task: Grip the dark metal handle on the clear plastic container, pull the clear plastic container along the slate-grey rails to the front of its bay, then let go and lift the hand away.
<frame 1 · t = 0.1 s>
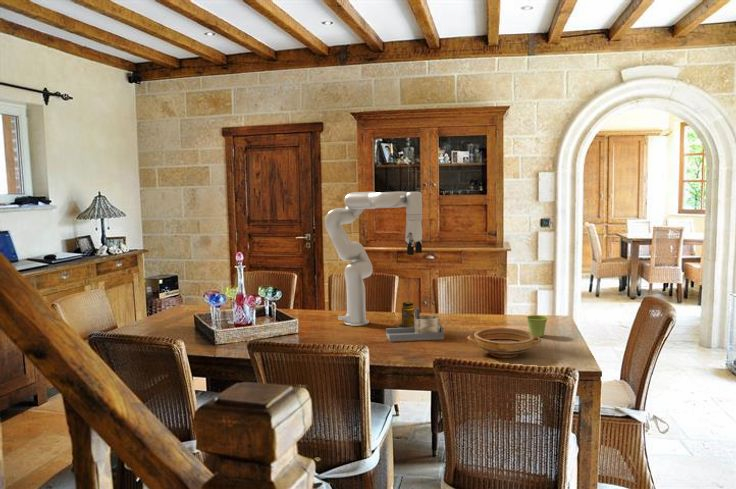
hand: (414, 253, 276), 37 cm above the table, tool pointing down, fingers open, 9 cm apart
bay: (414, 336, 267), on the table
condiment: (406, 327, 287), on the table
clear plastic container: (426, 320, 267), point 7 cm above the table, slide at 0.0 cm
ceramic bowl: (503, 354, 238), on the table
plant pot: (536, 336, 265), on the table
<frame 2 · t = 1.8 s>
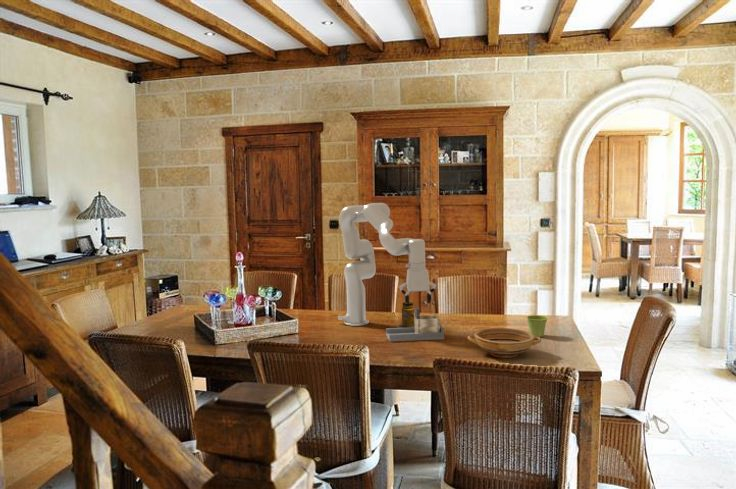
hand: (418, 303, 265), 16 cm above the table, tool pointing down, fingers open, 9 cm apart
nothing on the table moved.
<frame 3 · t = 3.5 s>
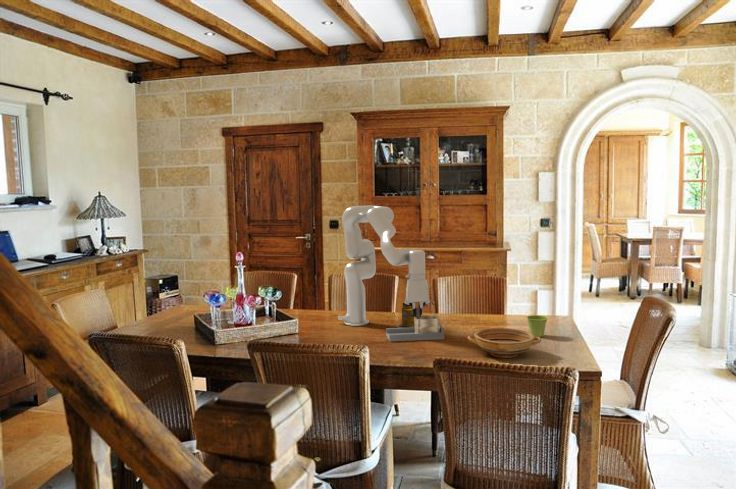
hand: (417, 316, 266), 10 cm above the table, tool pointing down, fingers closed
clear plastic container: (426, 320, 267), point 7 cm above the table, slide at 0.0 cm, touching gripper
everything else where it was.
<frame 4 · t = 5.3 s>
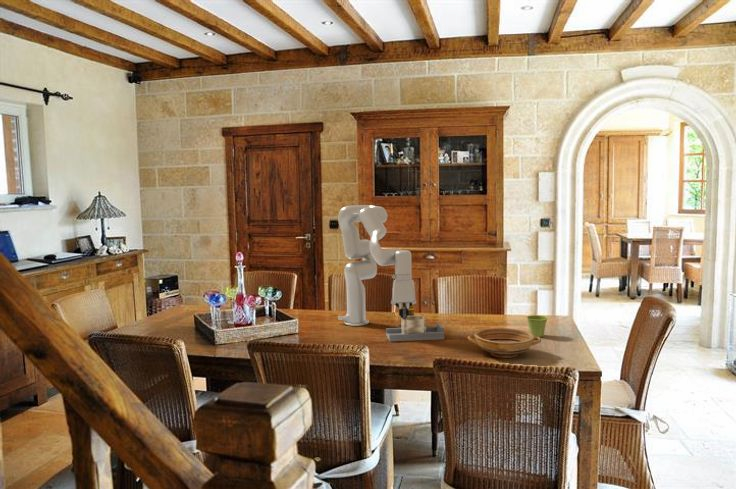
hand: (403, 316, 266), 10 cm above the table, tool pointing down, fingers closed
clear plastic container: (413, 321, 266), point 7 cm above the table, slide at 6.3 cm, touching gripper
everything else where it was.
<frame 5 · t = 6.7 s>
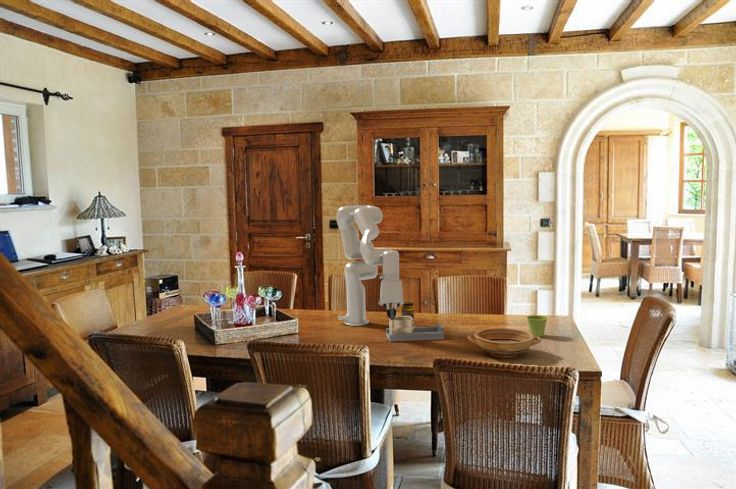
hand: (391, 317, 265), 10 cm above the table, tool pointing down, fingers closed
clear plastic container: (401, 321, 266), point 7 cm above the table, slide at 12.0 cm, touching gripper
everything else where it was.
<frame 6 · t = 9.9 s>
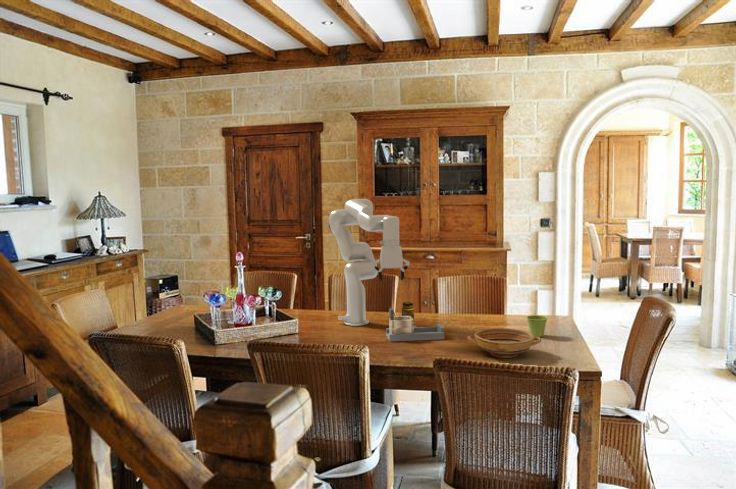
hand: (391, 280, 267), 26 cm above the table, tool pointing down, fingers open, 9 cm apart
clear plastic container: (401, 321, 266), point 7 cm above the table, slide at 12.0 cm
everything else where it was.
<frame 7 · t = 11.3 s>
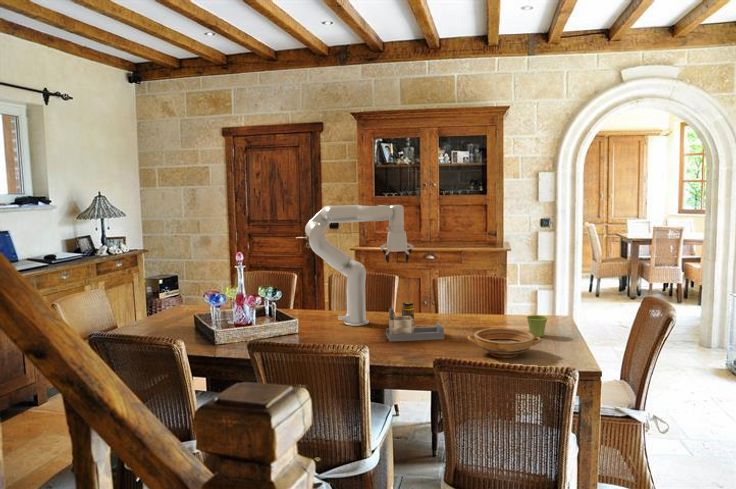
hand: (397, 262, 298), 30 cm above the table, tool pointing down, fingers open, 9 cm apart
nothing on the table moved.
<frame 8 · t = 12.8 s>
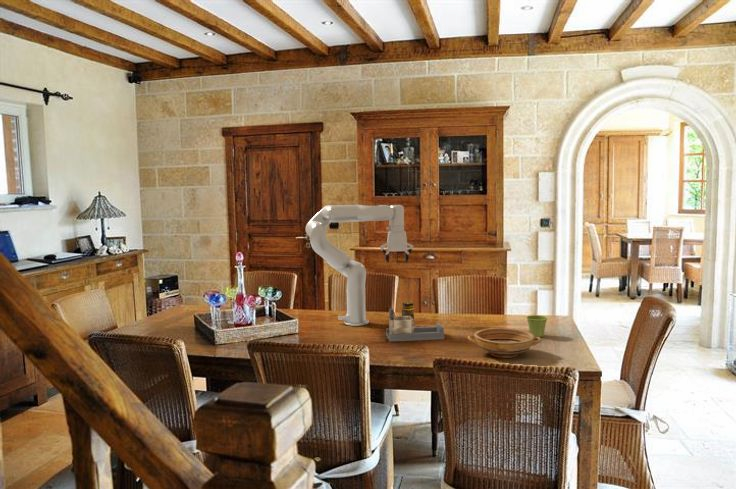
hand: (397, 262, 299), 30 cm above the table, tool pointing down, fingers open, 9 cm apart
nothing on the table moved.
at the end: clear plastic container slide at 12.0 cm; the gripper is holding nothing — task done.
